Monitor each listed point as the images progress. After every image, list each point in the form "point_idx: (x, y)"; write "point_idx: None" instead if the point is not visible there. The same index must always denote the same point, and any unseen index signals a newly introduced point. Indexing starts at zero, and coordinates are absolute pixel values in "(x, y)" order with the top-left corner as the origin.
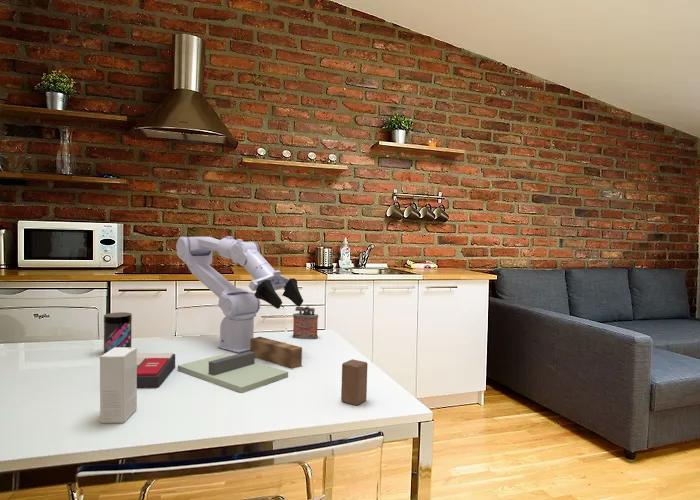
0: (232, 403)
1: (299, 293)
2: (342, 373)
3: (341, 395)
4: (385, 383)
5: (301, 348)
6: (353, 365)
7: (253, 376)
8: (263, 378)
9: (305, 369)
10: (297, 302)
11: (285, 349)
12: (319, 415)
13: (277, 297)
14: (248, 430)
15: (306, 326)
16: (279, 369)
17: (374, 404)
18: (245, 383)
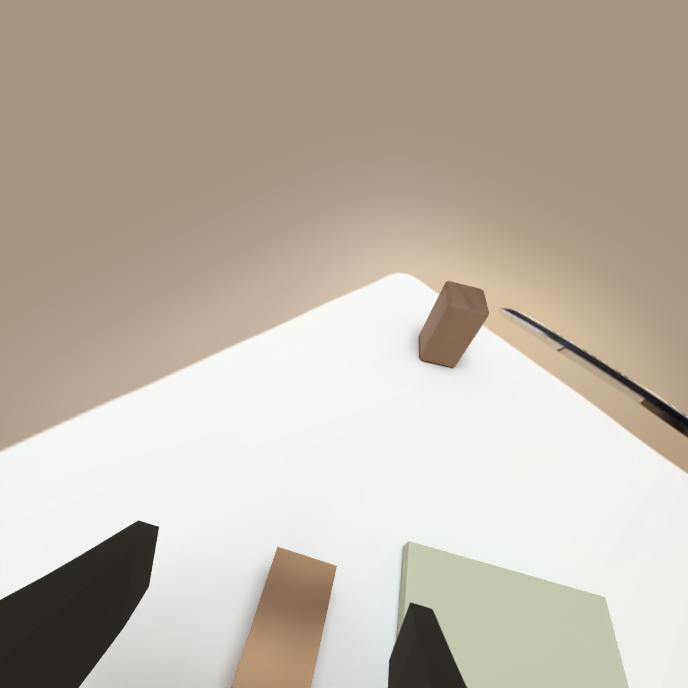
0: (641, 572)
1: (64, 573)
2: (479, 328)
3: (459, 359)
4: (317, 322)
5: (280, 549)
6: (484, 296)
7: (522, 635)
8: (509, 582)
9: (306, 530)
10: (129, 598)
11: (323, 621)
12: (524, 381)
13: (452, 662)
14: (655, 457)
15: None
16: (408, 587)
17: None
18: (579, 611)
